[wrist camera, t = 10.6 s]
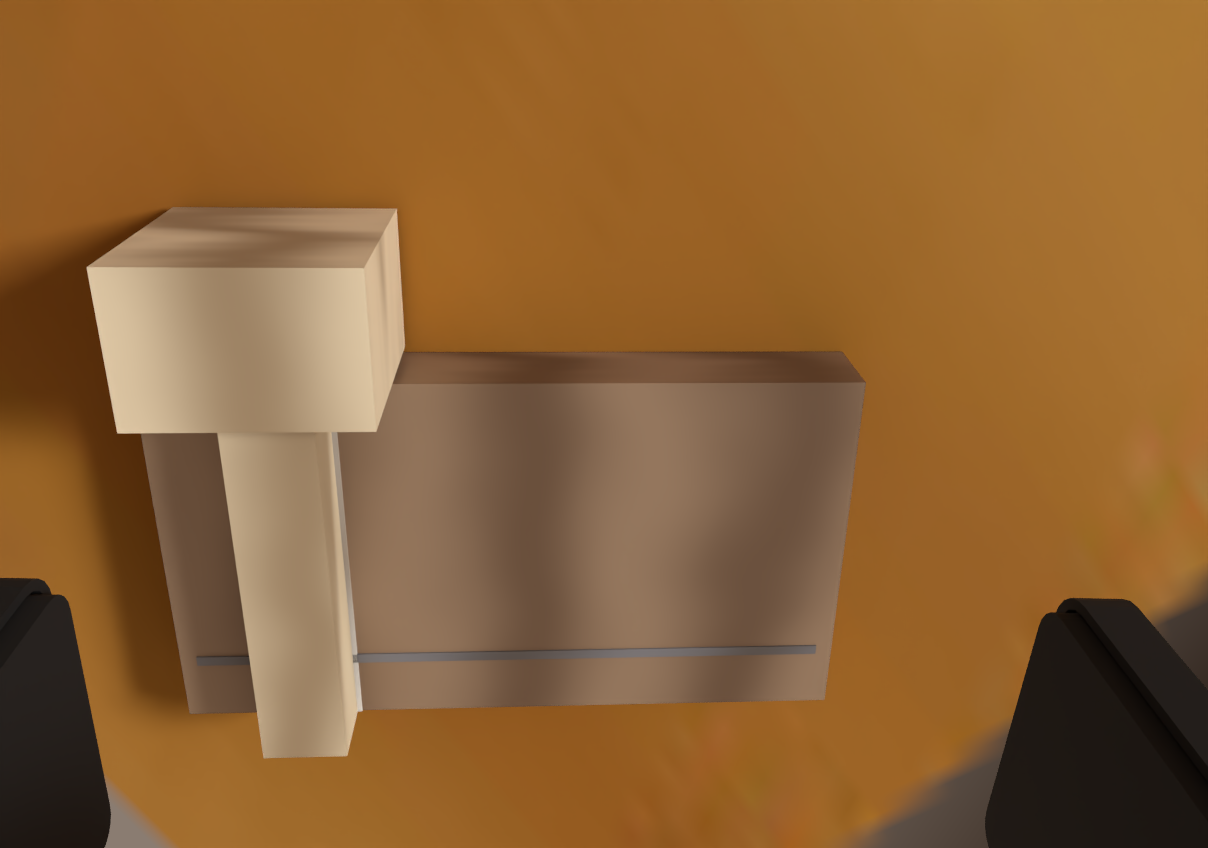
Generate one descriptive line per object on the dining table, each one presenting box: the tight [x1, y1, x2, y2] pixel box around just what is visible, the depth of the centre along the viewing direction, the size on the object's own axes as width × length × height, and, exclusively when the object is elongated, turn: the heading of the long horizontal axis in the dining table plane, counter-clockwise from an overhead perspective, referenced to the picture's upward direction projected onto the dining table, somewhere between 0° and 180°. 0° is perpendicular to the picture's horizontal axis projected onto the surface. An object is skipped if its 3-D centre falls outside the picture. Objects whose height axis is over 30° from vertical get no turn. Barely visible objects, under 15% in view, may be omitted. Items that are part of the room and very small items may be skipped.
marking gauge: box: [87, 207, 405, 758], centre depth 29 cm, size 6×15×6 cm, turn 179°
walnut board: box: [141, 352, 866, 714], centre depth 32 cm, size 20×11×3 cm, turn 89°
